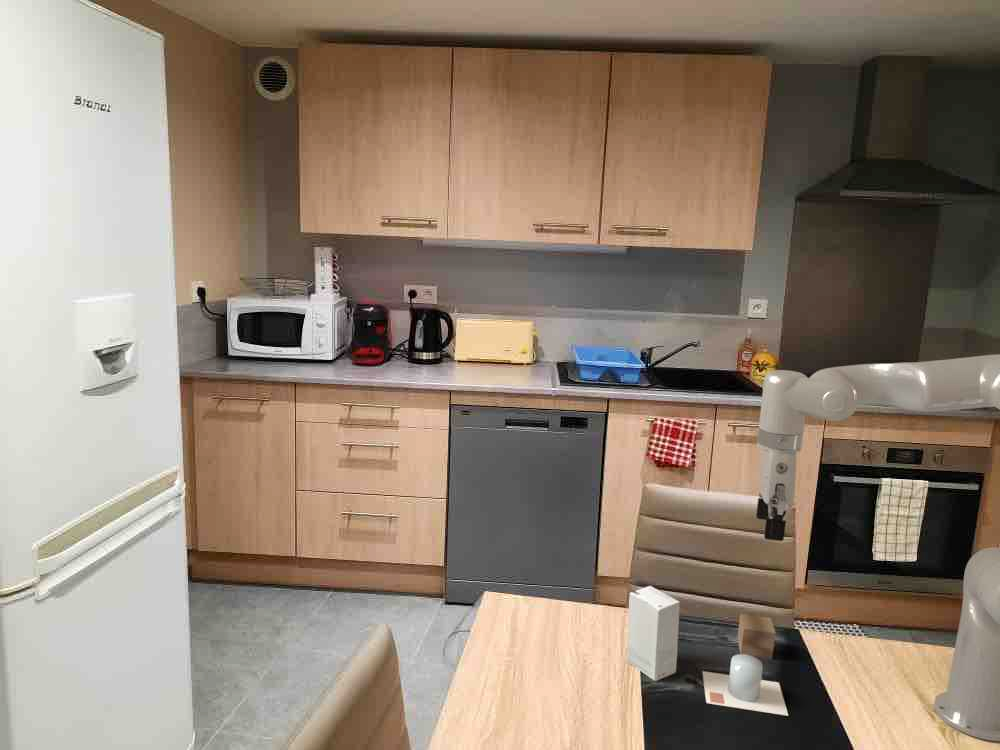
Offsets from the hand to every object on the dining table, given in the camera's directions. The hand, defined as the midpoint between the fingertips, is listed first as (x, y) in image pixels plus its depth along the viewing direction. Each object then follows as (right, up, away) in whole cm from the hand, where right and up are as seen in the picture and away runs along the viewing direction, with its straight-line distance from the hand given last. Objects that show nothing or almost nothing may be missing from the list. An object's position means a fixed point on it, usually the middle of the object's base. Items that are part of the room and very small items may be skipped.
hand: (769, 528), depth 138 cm
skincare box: (-21, -28, +7) cm, 36 cm away
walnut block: (+2, -28, +14) cm, 31 cm away
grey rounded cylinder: (-5, -30, 0) cm, 30 cm away
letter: (-5, -30, 0) cm, 31 cm away
